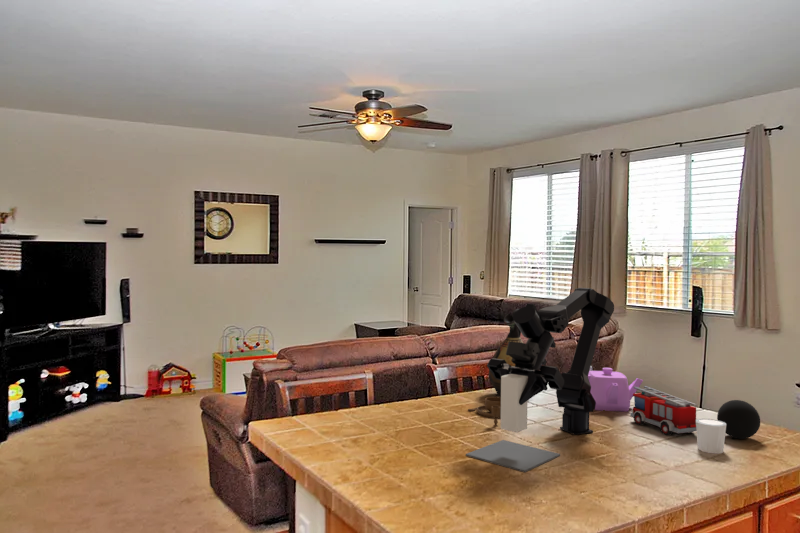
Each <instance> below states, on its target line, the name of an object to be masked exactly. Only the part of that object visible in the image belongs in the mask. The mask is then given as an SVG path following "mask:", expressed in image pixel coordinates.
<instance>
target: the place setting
mask: <svg viewBox="0 0 800 533" xmlns="http://www.w3.org/2000/svg"><path fill="white" fill-rule="evenodd" d="M484 400H485V401H484V405H479V406H477V407H475V408H468V409H467V411H469V412H474V411H477V413H478V414H479V415H480V416H481V417H487V418H490V419H493V423H494V425H493V427H495V428H497V427H499V425H498V423H499V421H498V419H501V397H499V396H489V397H485V399H484ZM486 410H487V411H488V412H484V411H486Z"/></svg>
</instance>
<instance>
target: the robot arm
mask: <svg viewBox="0 0 800 533" xmlns="http://www.w3.org/2000/svg"><path fill="white" fill-rule="evenodd" d="M518 309H519V310H518V311H517V312H515V313H514V315H513V314H512V315H513V320H514V322H515V323H516V325H517V327H518V328H519V330H520V332H521V335H522V337H524V338H526V339H527V340H526V343H524V342H523V343H518V342H509V343H508V347H507V351H506V355H509V356H510V357H512V360H511V361H512V362H513V363H514V364H515V367H514V366H511V365H509V364H507V363H506V361H505V360H503V359H496V358H493V357H492V358H490V359H489V360H488V362H487V364H486V367H487V369H488V371H489V370H490V372H491V373H492V375H493V376H494V378H496V379H497V380H501V376H504V375H508V374H517V375H523V376H528V382H527V384H526V386H525V388H524V390H523V392H522V394H521V397H520V400H519V404H520V405H522V404H524V403H525V402H526V401H527V402H528V401H529V400H530V399H532V398H533V397H535V396H537V395H538V394H540V393H541V392H543V391H548V387H549V388H550V389H552V390H555V393H556V394H555V395H556V400H557V404H558V405H557V406H558V407H559V408H563V413H562V419H561V420H562V421H561V423H562V424H561V426H559V430H562V431H564V432H567V433H569V434H571V435H582V434H584V435H585V434H592V433H594V430H593V429H590V412H591V413H593V412H594V411H596V410H595V405H596V401H595V400H594V398H593V396H592V394H591V393H590V391H591V385H590V382H589V379H588V374H589V370H590V366H592V363H593V359H594V355H595V352H596V348H597V344H598V342H599V337H600V334H601V330H602V329H603V328H604V327H605V326H606V325H608V323H609V322H610V321H611V318H612V315H613V314H614V311H615V305H614V302H613V301H612V299H611V298H610V297H608V296H606V295H604V294H602V293H599V292H597V291H596V290H595V289H594V288H591V287H578V288H577V287H576V288H575V289H574V290H573V291H572V292H571V293H570V294H569V295H568V296H566V297H565V298H562V300H561V301H560V302H558V303H557V304H555V305H552V306H551V305H550V306H545V307H543V308H539V309H537V307H536V305H535V304H534V303H527V304H525V306H524V307H520V308H518ZM579 312H580V317H581V319H582V323H583V324H582V328H581V331H580V334H579V338H578V341H577V345H576V349H575V351H574V355H573V358H572V362H571V366H570V368H569V371H566V372H562V373H561V372H560V370H559V368H558V366H553V365H547V362H548V361H547V359H546V357H547V355H548V353H549V351H550V348H551V349H552V348H553V349H554V348H556V347H557V346H556V342H555V337H553V335H552V334H551V333H553V334H554V333H555V334H561V333H563V332H564V331H565V330H566V329H567V327H568V326H569V320H570V319H571V318H572V317H573V316H575V315H576V314H577V313H579Z"/></svg>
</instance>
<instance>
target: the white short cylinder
mask: <svg viewBox="0 0 800 533" xmlns="http://www.w3.org/2000/svg"><path fill="white" fill-rule="evenodd" d="M695 432H696V439H697V440H696V442H697V449H698V450H699V451H700V452H701V451H702V452H704V453H706V454H707V453H709V454H722V453H724V449H725V440H726V433H725V432H726V423H725V422H722V421H718V420H717V419H710V418H698V419H697V418H696V431H695Z"/></svg>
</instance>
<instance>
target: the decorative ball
mask: <svg viewBox="0 0 800 533" xmlns="http://www.w3.org/2000/svg"><path fill="white" fill-rule="evenodd" d="M716 416H717V417H716V420H718V421H722V422H725V423H726V432H725V435H728V436H729V437H731V438H734V439H739V440H743V439H749V438H751V437H753V436H755V435H756V434H757V433H758V431H759V430H760V426H761V417H760V414H759V412H758V410H757V409H756V407H754V406H753V405H752V404H751V403H749V402H748V401H747V402H746V401H745V400H740V399H734V400H729V401H727V402H724V403H723V404H722V405H721V406H719V409H718V411H717V415H716Z"/></svg>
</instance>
